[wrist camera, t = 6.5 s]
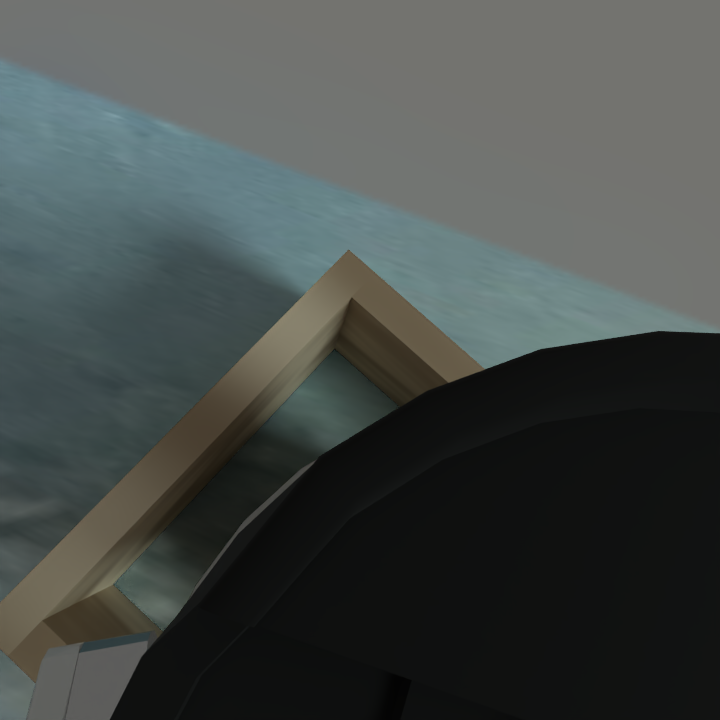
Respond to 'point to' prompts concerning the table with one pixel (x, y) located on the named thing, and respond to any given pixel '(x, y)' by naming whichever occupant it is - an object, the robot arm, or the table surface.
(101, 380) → the table surface
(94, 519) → the open wooden box frame
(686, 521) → the travel mug
